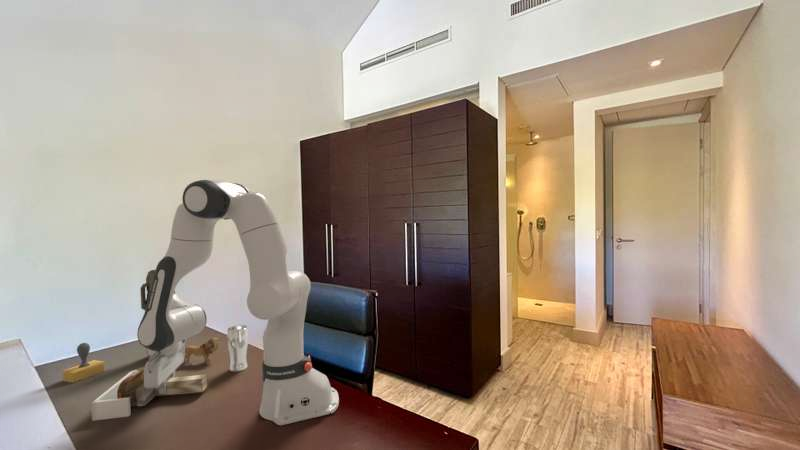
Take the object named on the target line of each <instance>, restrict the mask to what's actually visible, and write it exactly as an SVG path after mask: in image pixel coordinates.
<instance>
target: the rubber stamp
mask: <svg viewBox="0 0 800 450" xmlns="http://www.w3.org/2000/svg"><path fill="white" fill-rule="evenodd" d="M90 351H91V346H90V344H89V343H87V342H82V343H80V344H78V346H77V348H76V352H77V355H78V357H80V360H81V363H80V364H78V365H76V366H73V367H69V368H67V369H64V370H63V371H62V378H63V380H65V381H69V382H68V383H70V382H75V383H77V382H80V381H83V380H86V379H88V378H90V377H94V376H96V375H98V374H101V373H103V372H106V362H105V361H103V360H97V359H93V360H90V361H87V358H88V356H89V352H90ZM82 379H83V380H82ZM63 380H62V381H63ZM79 380H80V381H79ZM65 381H64V382H65ZM76 381H77V382H76Z"/></svg>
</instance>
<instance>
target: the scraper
mask: <svg viewBox="0 0 800 450" xmlns="http://www.w3.org/2000/svg"><path fill="white" fill-rule="evenodd" d="M165 384H166V386H167V391H166V392H165V393H164V394H160V393H159V388H152V389H146V388H145V387H144V384H143V385H141V386H140V387H139V388H138V389H136V396H137V404H136V407H143V406H144V407H145V406H146V405H147V404H148V403H149V402H151V400H153V399H154V398H155V397H159V396H165V395H166V396H168V395H170V396H171V395H179V394H188V393H197V392H198V393H199V392H200V393H201V392H204V391H205V390H206V389H207V387H208V378H207V374H196V375H187V376H184V375H183V376H174V377H173V378H167V379H166V382H165Z"/></svg>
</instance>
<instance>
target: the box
mask: <svg viewBox="0 0 800 450" xmlns="http://www.w3.org/2000/svg"><path fill="white" fill-rule="evenodd" d="M137 370H138V369H135V370H130V371H129V372H127V374H126V375H125V376H123V377H121V378H120V380H118V381H117V382H116V383H115V384H113V385H112V386H110V388H108V389H107V390H106V391H105V392H103V393H102V394H101V395H100V396H98V397H97V398H96V399H95V400H93V401H92V402H91V405H90V407H91V421H102V420H109V419H110V420H111V419H118V418H128V417H130V416H131V415H132V414H131V412H132V411H131V407H130V397H128V398H117V391H118V388H119V385H120V384H121V382H122V381H123V380H124V379H126V378H127V377H129V376H130V375H131V374H133V373H134V372H136V371H137Z"/></svg>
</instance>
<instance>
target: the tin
mask: <svg viewBox="0 0 800 450" xmlns="http://www.w3.org/2000/svg"><path fill="white" fill-rule="evenodd" d="M144 369H145V366H144V367H140V368H138V369H136V370H137V371H136V372H134V373H133V374H131V375H130V376H129V377H127V378H126V379H124V380H123V381H122V382H121V384H120V385H119V388H118V391H117V398H128V397H130V408H132V407H133V408H134V407H135V406H137V396H136V389H138V388H139V387H140V386H141V385H143V384H144Z"/></svg>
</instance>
